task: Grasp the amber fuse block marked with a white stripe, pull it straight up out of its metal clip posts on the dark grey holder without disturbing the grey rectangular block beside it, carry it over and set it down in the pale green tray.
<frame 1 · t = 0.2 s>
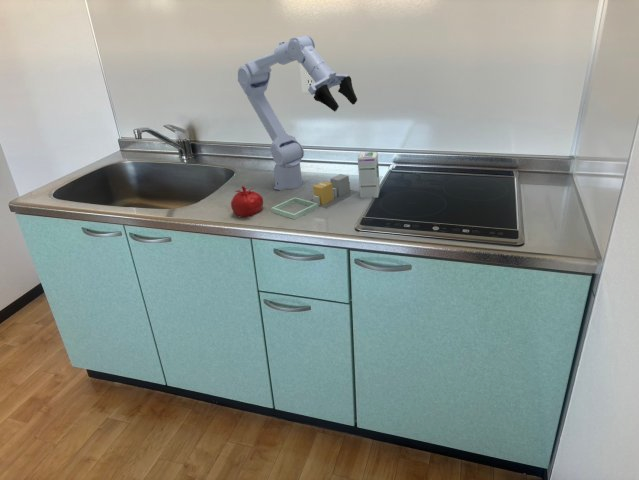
hand: (346, 105, 140), 31 cm above the worktop, tool tilted 45°, fingers open, 7 cm apart
syrup box: (370, 198, 157), on the worktop
tray: (295, 213, 151), on the worktop
pomegranate: (249, 214, 155), on the worktop
grey rectangular block: (340, 193, 160), point 1 cm above the worktop, touching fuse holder
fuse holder: (332, 200, 158), on the worktop
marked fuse: (324, 201, 155), point 1 cm above the worktop, touching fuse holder
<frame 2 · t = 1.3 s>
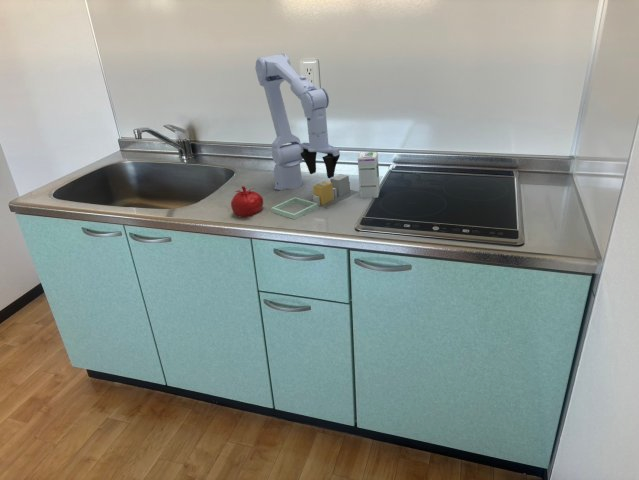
hand: (321, 175, 151), 10 cm above the worktop, tool pointing down, fingers open, 7 cm apart
nothing on the worktop moved.
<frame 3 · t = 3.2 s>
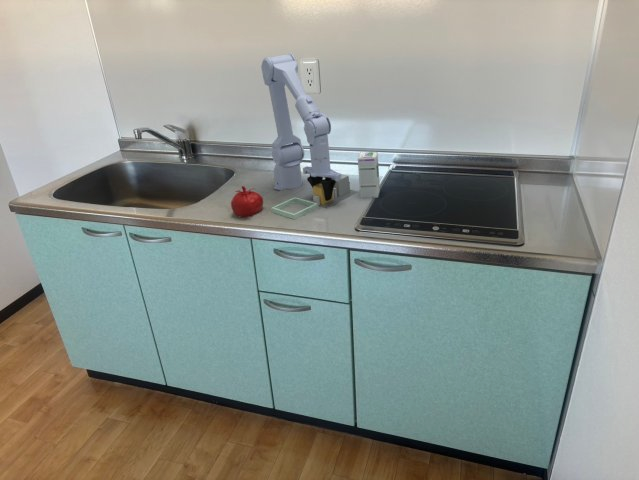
hand: (323, 198, 155), 2 cm above the worktop, tool pointing down, fingers closed on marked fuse, 3 cm apart
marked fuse: (324, 201, 155), point 1 cm above the worktop, touching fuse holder, gripper
everything else where it was.
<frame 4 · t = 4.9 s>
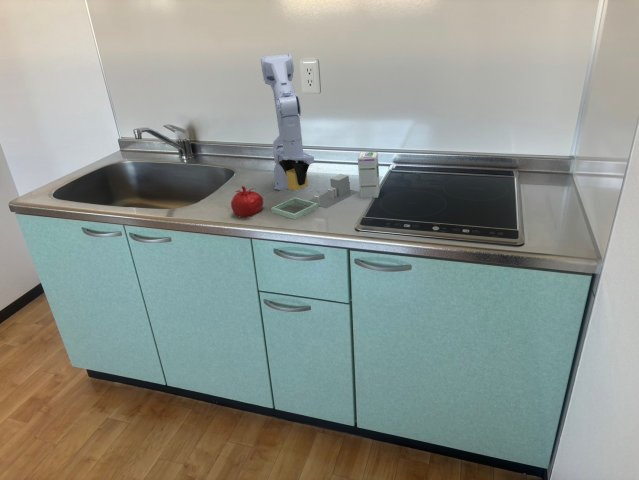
hand: (297, 183, 148), 9 cm above the worktop, tool pointing down, fingers closed on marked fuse, 3 cm apart
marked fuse: (298, 187, 148), point 8 cm above the worktop, touching gripper
everything else where it was.
when the fingers open (3 cm above the worktop, at t = 7.0 s): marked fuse drops 1 cm, resting on tray.
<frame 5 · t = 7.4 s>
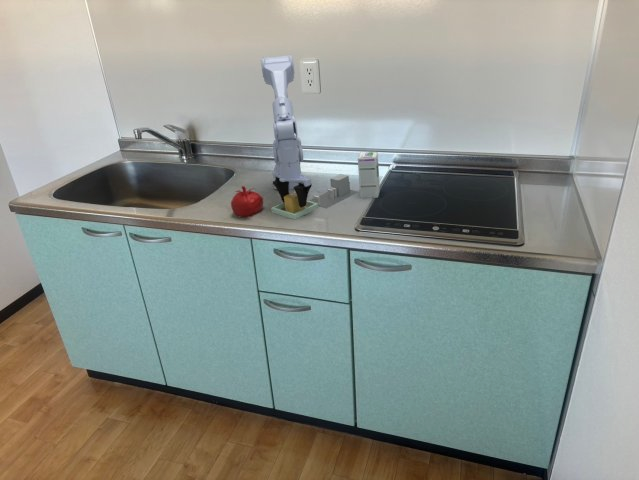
hand: (294, 203, 150), 3 cm above the worktop, tool pointing down, fingers open, 7 cm apart
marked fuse: (295, 211, 151), point 1 cm above the worktop, touching tray
everything else where it was.
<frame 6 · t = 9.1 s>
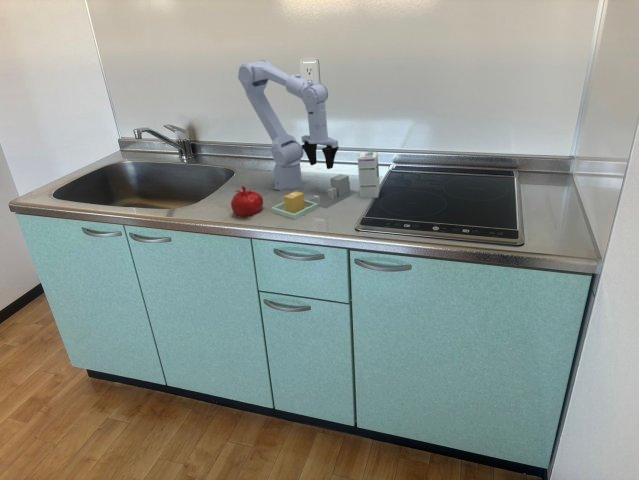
hand: (321, 166, 159), 10 cm above the worktop, tool pointing down, fingers open, 7 cm apart
nothing on the worktop moved.
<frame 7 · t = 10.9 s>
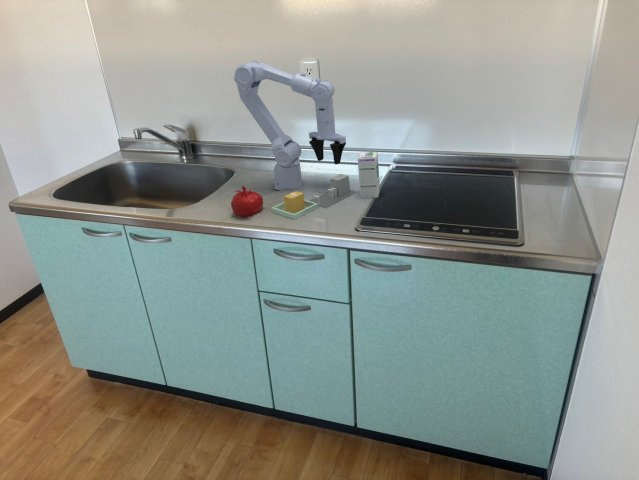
hand: (328, 161, 162), 10 cm above the worktop, tool pointing down, fingers open, 7 cm apart
nothing on the worktop moved.
at the end: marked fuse inside the target area on the tray (0.2 cm from its centre), point 0.6 cm above the tray's base; grey rectangular block moved 0.2 cm from its start; the gripper is holding nothing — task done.
